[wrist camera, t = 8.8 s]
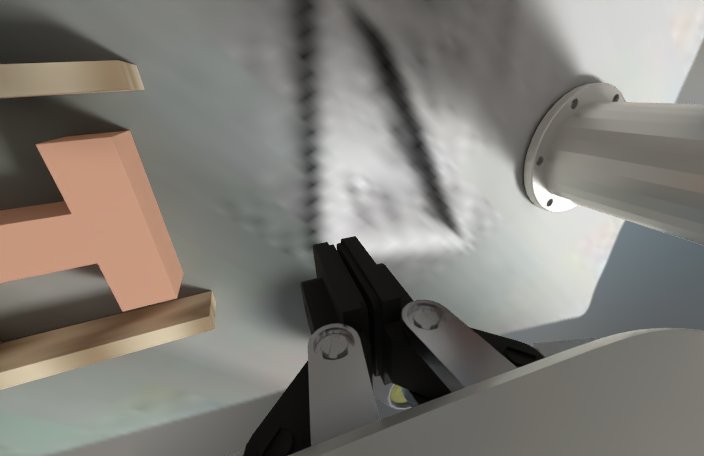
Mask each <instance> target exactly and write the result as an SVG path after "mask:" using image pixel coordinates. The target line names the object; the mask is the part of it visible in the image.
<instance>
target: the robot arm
mask: <svg viewBox="0 0 704 456" xmlns="http://www.w3.org/2000/svg"><path fill="white" fill-rule="evenodd" d="M524 185H525V189H526V192H527V195H528V197H529V198H530V200H531V202H533V203H534V204H535V205H536V206H537V207H540V208H542V209H544V210H547V211H551V212H562V211H566V210H569V209H571V208H573V207H575V206H578V205H581V206H584V207H587V208H590V209H593V210H596V211H599V212H603V213H606V214H609V215H612V216H615V217H618V218H621V219H624V220H627V221H631V222H633V223H637V224H640V225H643V226H646V227H649V228H652V229H655V230H658V231H661V232H664V233H667V234H671V235H674V236H677V237H680V238H683V239H686V240H689V241H692V242H695V243H698V244H702V245H704V104H672V103H632V102H626V101H625V99H624V97H623V95H622V93H621V92H620V91H619V90H618V89H617V88H616V87H615V86H613V85H610V84H607V83H591V84H584V85H582V86H579V87H576V88H575V89H573V90H571V91H570V92H568V93H566V94H565V95H564V96H563V97H562V98H561V99H559V100H558V101H557V102H556V103H555V104H554V105H553V107H552V108H551V109H550V110H549V111H548V112H547V114H546V115H545V117H544V118H543V120H542V121H541V123H540V124H539V126H538V128H537V130H536V131H535V133H534V135H533V137H532V140H531V143H530V145H529V148H528V151H527V155H526V159H525V165H524ZM313 252H314V259H315V267H316V274H317V279H313V280H308V281H304V282H301V289H302V295H303V301H304V306H305V311H306V316H307V320H308V324H309V328H310V332H311V335H312V336H311V337H310V339H309V342H308V361H307V362H306V364H305V365H304V366H303V368H302V369H301V371H300V372H299V373H298V375H297V376H296V377H295V379H294V380H293V381H292V383H291V384H290V385H289V387H288V388H287V389H286V391H285V392H284V393H283V395H282V396H281V397H280V399H279V400H278V401H277V403H276V404H275V405H274V407H273V408H272V410H271V411H270V412H269V413H268V415H267V416H266V417H265V419H264V420H263V422H262V423H261V424H260V426H259V427H258V428H257V430H256V431H255V432H254V434H253V435H252V437H251V438H250V440H249V442H248V443H247V445H246V448H244V449H242V450H241V451H239V452H238V453H236V454H234V455H232V456H704V331H700V330H692V329H682V328H681V329H680V328H654V329H643V330H635V331H630V332H624V333H619V334H615V335H611V336H608V337H604V338H581V339H572V340H561V341H552V342H541V343H534V344H533V347H531V346H529V345H527V344H525V343H522V342H519V341H516V340H512V339H509V338H505V337H502V336H498V335H494V334H491V333H487V332H484V331H480V330H477V329H473V328H469V327H468V326H467V325H466V324H465V323H463V322H462V321H461V320H460V319H459V318H457V317H456V316H455V315H454V314H453V313H451V312H450V311H449V310H448V309H447V308H445V307H444V306H442V305H441V304H439V303H437V302H434V301H430V300H416V301H413V300H412V299H411V297H410V296H409V295H408V293H407V292H406V291H405V290H404V288H403V287H402V286H401V285H400V283H399V282H398V281H397V280H396V278H395V277H394V276H393V275H392V273H391V272H390V271H389V269H388V268H387V267H386V266H385V265H384V264H382V263H381V264H376V263H375V262H374V260H373V259H372V258H371V256H370V255H369V254H368V252H367V251H366V250H365V248H364V247H363V246H362V244H361V243H360V242H359V240H358V239H357V238H356V237H355V236H354V237H349V238H344V239H341V243H338V244H337V250H336V248H335V246H334V245H329V244H328V243H327V242H325V243H320V244H315V245H313ZM372 372H373V374H374V376H375V377H377V376H380V377H381V379H382V381H383V383H384V385H387V384H390V383H393V384H395V385H398V386H400V387H401V391H402V393H403V395H404V397H405V399H406V400H407V402H408V403H409V404H410V406H411V407H412V408H410V409H407V410H405V411H402V412H400V413H397V414H394V415H392V416H389V417H387V418H384V419H381V420H380V418H379V414H378V410H377V406H376V402H375V398H374V394H373V379H372ZM224 456H231V454H230V452H229V453H227V454H225V455H224Z"/></svg>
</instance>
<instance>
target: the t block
mask: <svg viewBox="0 0 704 456" xmlns="http://www.w3.org/2000/svg"><path fill="white" fill-rule="evenodd" d="M36 146H37V148H38V150H39V152H40V154H41V156H42V158H43V160H44V162H45V164H46V165H47V167H48V169H49V171H50V173H51V175H52V177H53V179H54V181H55V183H56V185H57V187H58V189H59V190H60V192H61V194H62V196H63V198H64V200H65V201H61V202H55V203H48V204H41V205H34V206H27V207H21V208H14V209H7V210H0V283H3V282H8V281H13V280H18V279H22V278H27V277H32V276H37V275H42V274H47V273H52V272H57V271H62V270H67V269H72V268H77V267H82V266H87V265H92V264H97V263H98V265H99V267H100V269H101V271H102V273H103V275H104V277H105V279H106V281H107V283H108V285H109V287H110V288H111V290H112V292H113V294H114V296H115V298H116V300H117V302H118V304H119V306H120V308H121V310H122V312H124V311H128V310H132V309H136V308H140V307H144V306H148V305H152V304H156V303H160V302H164V301H168V300H172V299H176V298H177V297H178V293H179V289H180V285H181V281H182V278H183V271H182V269H181V266H180V263H179V261H178V258H177V255H176V253H175V250H174V247H173V245H172V242H171V239H170V237H169V234H168V231H167V229H166V226H165V223H164V221H163V218H162V215H161V213H160V210H159V207H158V205H157V202H156V199H155V197H154V194H153V191H152V189H151V186H150V184H149V181H148V178H147V176H146V173H145V170H144V168H143V165H142V162H141V160H140V157H139V154H138V152H137V149H136V146H135V144H134V141H133V138H132V136H131V133H130V130H128V131H118V132H107V133H97V134H86V135H76V136H66V137H62V138H58V139H54V140H51V141H47V142H43V143H39V144H36Z"/></svg>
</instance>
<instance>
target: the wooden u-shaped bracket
mask: <svg viewBox="0 0 704 456" xmlns="http://www.w3.org/2000/svg"><path fill="white" fill-rule="evenodd" d="M133 90H145V89H144V86H143V83H142V80H141V77H140V75H139V72H138V69H137V66H136V65H133V64H130V63H126V62H123V61H119V60H111V61H82V62H53V63H24V64H0V99H2V98H18V97H35V96H51V95H68V94H84V93H101V92H117V91H133ZM215 312H216V301H215V298H214V295H213V292H212V291H209V292H205V293H201V294H197V295H193V296H189V297H185V298H181V299H177V300H173V301H169V302H165V303H161V304H157V305H153V306H149V307H145V308H141V309H137V310H132V311H128V312H124V313H120V314H116V315H112V316H108V317H104V318H100V319H96V320H92V321H88V322H84V323H80V324H76V325H72V326H68V327H64V328H60V329H56V330H52V331H48V332H44V333H40V334H36V335H32V336H28V337H24V338H20V339H16V340H12V341H8V342H4V343H2V342H1V341H0V390H2V389H5V388H9V387H12V386H16V385H19V384H23V383H26V382H30V381H34V380H37V379H41V378H44V377H48V376H51V375H55V374H58V373H62V372H65V371H69V370H72V369H76V368H79V367H83V366H86V365H90V364H93V363H97V362H100V361H104V360H107V359H111V358H114V357H118V356H121V355H125V354H128V353H132V352H136V351H139V350H143V349H146V348H150V347H153V346H157V345H160V344H164V343H167V342H171V341H174V340H178V339H181V338H185V337H188V336H192V335H195V334H199V333H202V332H206V331H209V330H213V329H214V326H215Z"/></svg>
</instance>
